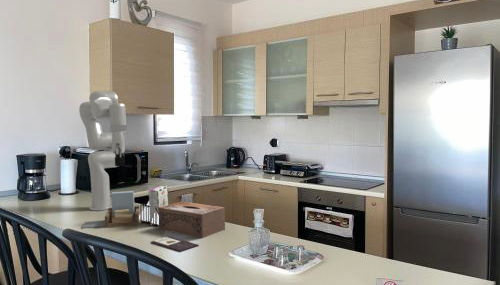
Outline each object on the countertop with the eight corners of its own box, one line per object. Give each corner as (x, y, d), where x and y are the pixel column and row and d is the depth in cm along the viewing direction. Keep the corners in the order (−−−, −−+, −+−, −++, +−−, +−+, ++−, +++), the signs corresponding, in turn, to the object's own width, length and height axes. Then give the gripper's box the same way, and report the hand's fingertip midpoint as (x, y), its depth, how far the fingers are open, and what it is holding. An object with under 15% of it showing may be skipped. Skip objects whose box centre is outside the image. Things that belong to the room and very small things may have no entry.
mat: (85, 222, 197) (85, 221, 197) (108, 220, 199) (108, 220, 199) (81, 228, 187) (81, 227, 187) (105, 226, 189) (105, 225, 189)
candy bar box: (159, 219, 200) (158, 186, 198) (169, 219, 199) (168, 186, 197) (149, 225, 189) (148, 190, 188) (159, 226, 188) (158, 190, 187)
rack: (109, 220, 201) (108, 207, 201) (139, 217, 204) (139, 205, 204) (105, 227, 187) (104, 214, 187) (137, 225, 190) (137, 212, 190)
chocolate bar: (180, 250, 150) (150, 241, 162) (180, 253, 150) (150, 244, 162) (198, 244, 157) (169, 236, 169) (198, 247, 157) (169, 238, 169)
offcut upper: (114, 215, 193) (114, 210, 193) (129, 214, 196) (128, 209, 195) (115, 217, 190) (114, 212, 190) (129, 216, 192) (129, 210, 192)
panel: (113, 220, 199) (112, 192, 198) (134, 219, 201) (133, 190, 200) (112, 222, 196) (111, 193, 195) (134, 221, 198) (133, 192, 197)
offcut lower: (113, 224, 194) (112, 215, 194) (133, 222, 196) (132, 214, 196) (112, 226, 190) (111, 217, 190) (132, 224, 192) (132, 216, 192)
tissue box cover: (159, 229, 182) (158, 207, 182) (182, 222, 194) (181, 201, 193) (202, 238, 167) (202, 214, 167) (225, 230, 179) (224, 207, 179)
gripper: (112, 129, 204) (114, 163, 205) (107, 129, 187) (109, 167, 188) (128, 128, 205) (130, 163, 206) (124, 129, 188) (126, 166, 189)
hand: (120, 165), depth 197 cm, fingers open, 9 cm apart
